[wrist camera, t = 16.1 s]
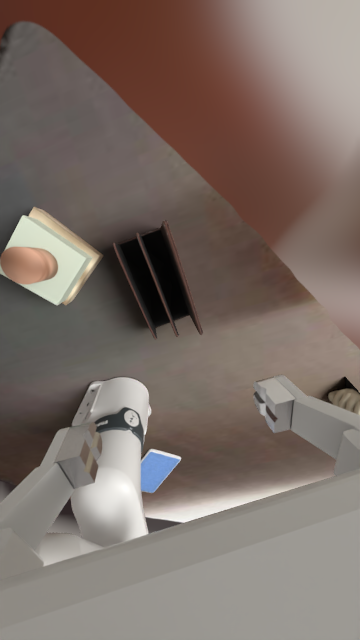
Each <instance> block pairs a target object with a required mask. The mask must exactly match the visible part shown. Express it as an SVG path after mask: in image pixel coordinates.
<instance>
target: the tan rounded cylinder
mask: <svg viewBox="0 0 360 640" xmlns="http://www.w3.org/2000/svg"><path fill="white" fill-rule="evenodd" d="M0 265H1V268H2V270H3V272H4V273H5V275H6V276H7V277H8V278H10V279H11V280H13V281H14V282H16V283H19V284H32V283H36V282H41V281H45V280H49V279H51V278H53V277H54V276H55V275H56V274H57V271H58V263H57V260H56V259H55V257H54V256H53V255H52V254H51V253H50V252H49V251H47V250H45V249H42V248H31V247H10V248H8V249H6V250H5V251H4V252H3V253H2V255H1V258H0Z"/></svg>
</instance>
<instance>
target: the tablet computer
mask: <svg viewBox="0 0 360 640" xmlns="http://www.w3.org/2000/svg"><path fill="white" fill-rule="evenodd" d="M180 460H181V457H180V456H176V455H173V454H169V453H166V452H162V451H158V450H154V449H150V450H148V452H147V453H146V454H145V456H144V457H143V458H142V460H141V491H145V492H150V493H153V492H154V491H155V490H156V489H157V488H158V487H159V485H160V484H161V483H162V482H163V481H164V479H165V478H166V477H167V476H168V475H169V473H170V472H171V471H172V470H173V469H174V467H175V466H176V465H177V464H178V463H179V462H180Z"/></svg>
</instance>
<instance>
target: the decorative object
mask: <svg viewBox="0 0 360 640" xmlns="http://www.w3.org/2000/svg"><path fill="white" fill-rule="evenodd" d="M345 381H346V388H347V389H342V390H338V391H333V392H330V393H329V394H328V398H329V400H330V401H331V402H333V405H335V406H337V407H340V408H342V409H345V410H348V411H350V412H353V413H355V414H358V415H360V391H358V390H357V389H356V388H355V387H354V386H353V385H352V384H351V383H350V381H349V380H348V379H347V378H346V377H345Z"/></svg>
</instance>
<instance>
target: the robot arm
mask: <svg viewBox="0 0 360 640" xmlns="http://www.w3.org/2000/svg"><path fill="white" fill-rule="evenodd" d="M254 389H255V390H256V392H255V393H254V402H255V405H256V407H257V409H258V411H259V412H260V413H261V414H262V415H264V416H266V422H267V424H268V425H269V427H270V428H271V430H272V431H273V432H274V433H276V432H280V431H285V430H289V429H291V430H292V431H293V432H295V433H296V434H298V435H299V436H301V437H303V438H304V439H306V440H307V441H309V442H310V443H312V444H313V445H315V446H316V447H318V448H319V449H321V450H322V451H324V452H326V453H327V454H329V455H330V456H332V457H333V458H335V459H336V464H335V468H334V474H335V475H336V476H334V477H331V478H327V479H324V480H321V481H318V482H315V483H311V484H308V485H305V486H302V487H298V488H295V489H292V490H289V491H285V492H282V493H279V494H276V495H273V496H269V497H266V498H263V499H260V500H256V501H253V502H250V503H247V504H243V505H240V506H237V507H234V508H231V509H227V510H224V511H221V512H218V513H214V514H211V515H208V516H205V517H201V518H198V519H195V520H192V521H189V522H185V523H182V524H179V525H176V526H172V527H169V528H166V529H163V530H160V531H156V532H153V533H150V534H148V529H147V524H146V520H145V514H144V509H143V503H142V495H141V452H142V450H143V444H144V435H145V434H146V430H147V421H148V416H149V415H150V414H151V407H150V405H149V393H148V391H147V389H146V387H145V386H144V385H143V384H142V383H140V382H139V381H137V380H135V379H132V378H126V377H119V378H113V379H110V380H107V381H95V382H92V383H91V384H90V386H89V388H88V390H87V392H86V394H85V396H84V398H83V400H82V402H81V404H80V406H79V408H78V410H77V413H76V415H75V417H74V419H73V421H72V427H68V428H64V429H60V430H59V431H58V432H57V433H56V435H55V437H54V439H53V441H52V443H51V445H50V447H49V449H48V451H47V453H46V455H45V457H44V459H43V461H42V463H41V465H40V467H37V468H35V469H34V470H33V471H32V472H31V473H30V474H29V475H28V476H27V477H26V478H25V479H24V480H23V481H22V482H21V483H20V484H19V485H18V486H17V487H16V488H15V489H14V490H13V491H12V492H11V493H10V494H9V495H8V496H7V497H6V498H5V499H4V500H3V501H2V502H1V503H0V640H360V415H358V414H355V413H353V412H350V411H348V410H345V409H342V408H340V407H337V406H335V405H332V404H330V403H327V402H324V401H322V400H319V399H317V398H314V397H312V396H308V397H307V396H306V395H305V394H304V393H303V392H302V391H301V390H300V389H298V388H297V387H296V386H295V385H294V384H293V383H292V382H291V381H290V380H289V379H287V378H286V377H285V376H284V375H278V376H274V377H271V378H267V379H263V380H259V381H255V382H254ZM70 496H71V503H72V509H73V512H74V515H75V517H76V520H77V522H78V525H79V528H80V532H81V537H78V536H75V535H73V534H69V533H47V531H48V530H49V528H50V527H51V525H52V524H53V522H54V520H55V519H56V517H57V516H58V515H59V513H60V512H61V510H62V509H63V507H64V505H65V504H66V502H67V501H68V499H69V498H70Z"/></svg>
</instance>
